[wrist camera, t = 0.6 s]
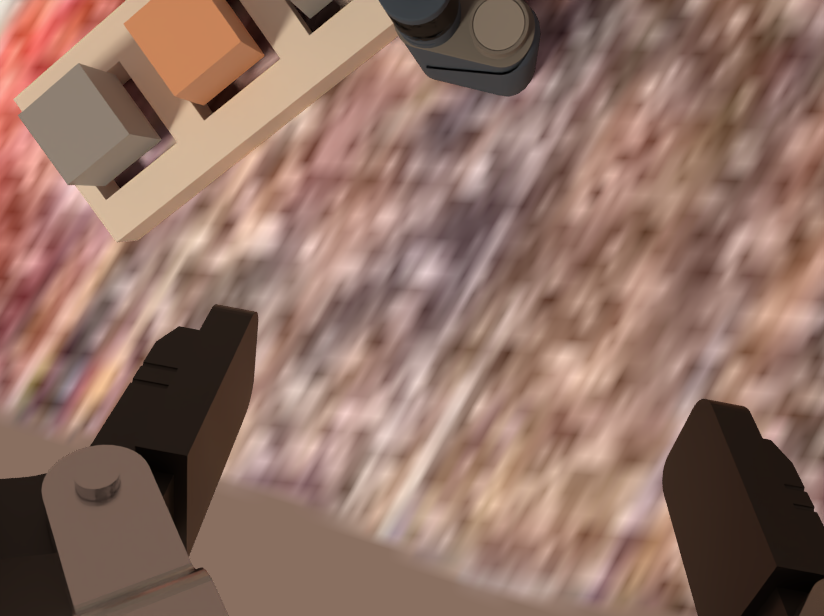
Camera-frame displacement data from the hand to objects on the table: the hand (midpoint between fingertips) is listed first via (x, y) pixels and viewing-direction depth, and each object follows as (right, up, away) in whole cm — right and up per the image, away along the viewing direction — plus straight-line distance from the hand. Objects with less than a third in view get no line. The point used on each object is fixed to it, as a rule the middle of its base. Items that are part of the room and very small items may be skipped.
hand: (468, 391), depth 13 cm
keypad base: (-9, +13, +21) cm, 26 cm away
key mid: (-10, +13, +18) cm, 24 cm away
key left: (-15, +9, +20) cm, 26 cm away
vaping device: (+2, +12, +19) cm, 23 cm away
